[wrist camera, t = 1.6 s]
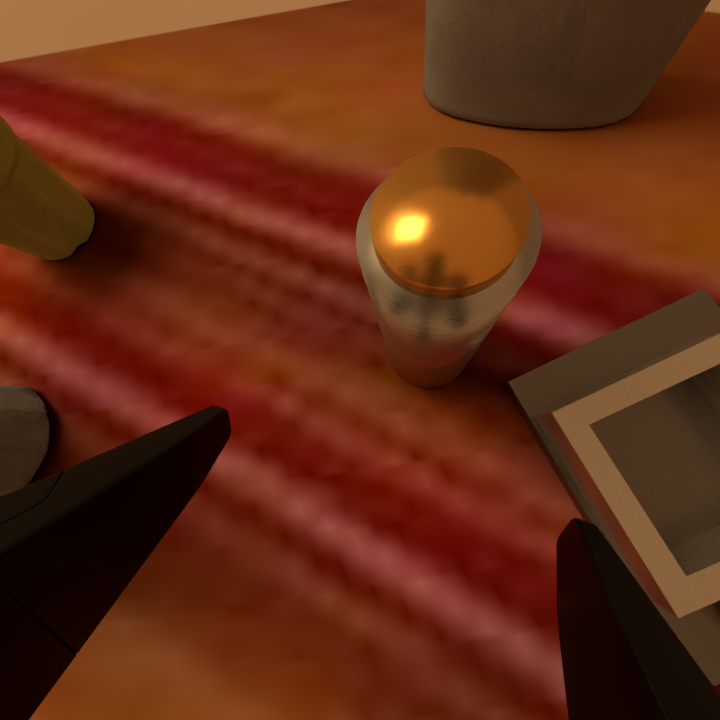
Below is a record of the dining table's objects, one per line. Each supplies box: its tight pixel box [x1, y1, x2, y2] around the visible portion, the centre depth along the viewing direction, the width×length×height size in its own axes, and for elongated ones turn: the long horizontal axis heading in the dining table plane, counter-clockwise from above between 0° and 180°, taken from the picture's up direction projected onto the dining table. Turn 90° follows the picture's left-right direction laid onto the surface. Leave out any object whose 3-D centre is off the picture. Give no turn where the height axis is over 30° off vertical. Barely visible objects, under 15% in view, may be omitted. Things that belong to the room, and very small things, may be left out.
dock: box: [504, 288, 720, 686], centre depth 17 cm, size 16×12×4 cm
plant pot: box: [0, 116, 95, 260], centre depth 25 cm, size 9×9×9 cm
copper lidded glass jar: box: [356, 147, 542, 388], centre depth 15 cm, size 5×5×14 cm
